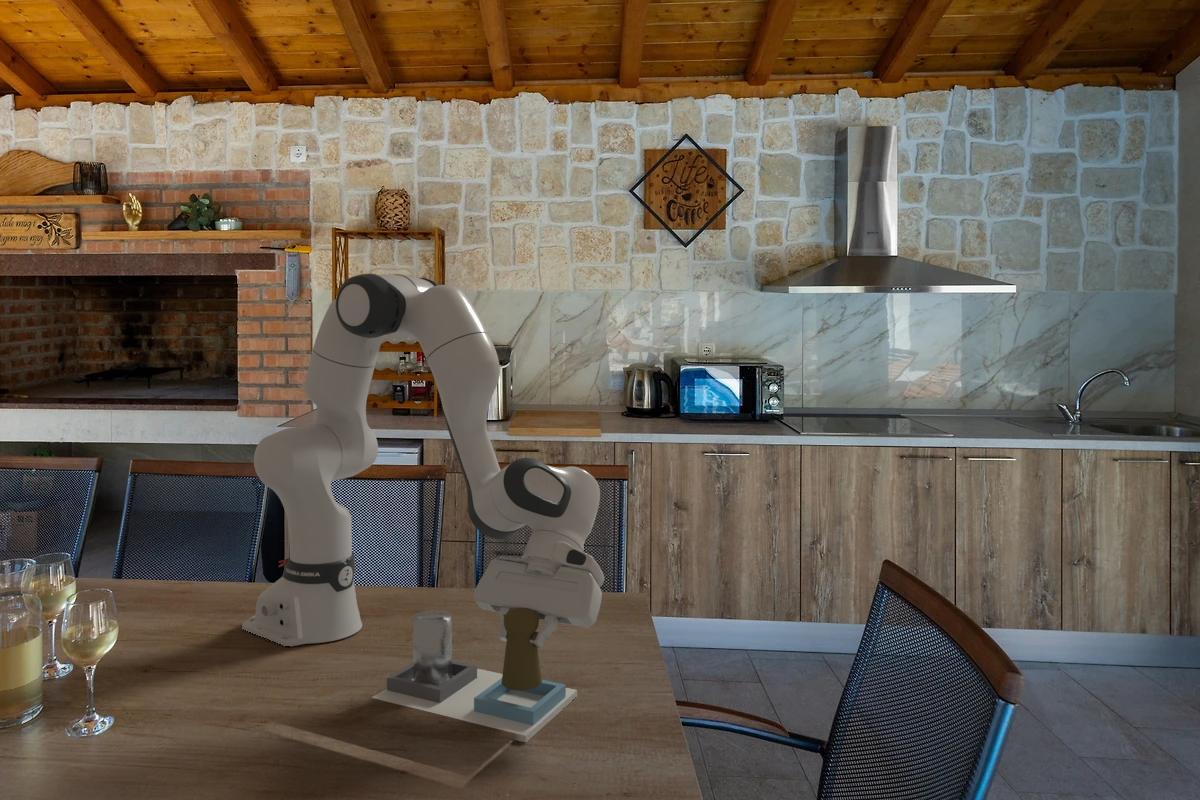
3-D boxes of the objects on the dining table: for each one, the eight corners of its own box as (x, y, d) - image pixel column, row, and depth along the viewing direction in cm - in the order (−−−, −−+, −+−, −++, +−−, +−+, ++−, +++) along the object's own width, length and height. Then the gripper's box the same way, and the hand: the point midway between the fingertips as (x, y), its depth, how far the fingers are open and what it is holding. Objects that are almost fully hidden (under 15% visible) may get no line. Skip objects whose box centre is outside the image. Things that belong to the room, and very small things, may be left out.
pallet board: (371, 703, 126) (371, 684, 126) (434, 665, 140) (434, 647, 140) (525, 742, 115) (525, 721, 114) (577, 696, 129) (577, 677, 129)
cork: (535, 692, 120) (534, 618, 119) (495, 688, 122) (495, 615, 121) (546, 675, 126) (546, 604, 125) (509, 671, 127) (508, 602, 126)
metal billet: (405, 687, 129) (404, 619, 128) (428, 673, 135) (428, 607, 134) (437, 695, 127) (436, 625, 126) (459, 680, 132) (459, 613, 131)
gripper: (486, 543, 133) (451, 622, 125) (602, 558, 124) (572, 644, 116) (501, 563, 137) (468, 640, 129) (614, 579, 129) (586, 663, 121)
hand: (519, 642), depth 123 cm, fingers closed on cork, 4 cm apart
